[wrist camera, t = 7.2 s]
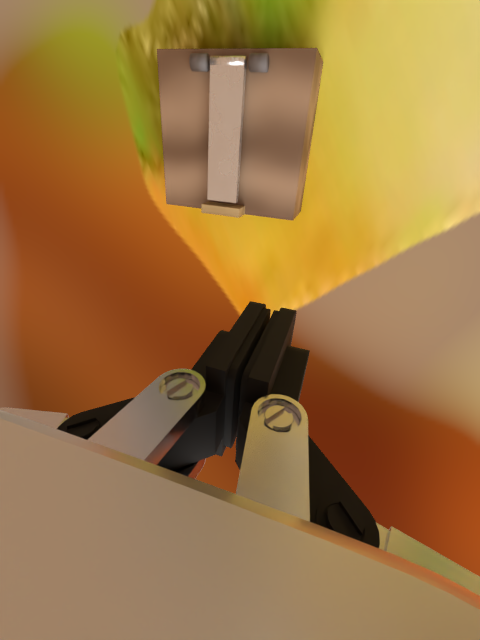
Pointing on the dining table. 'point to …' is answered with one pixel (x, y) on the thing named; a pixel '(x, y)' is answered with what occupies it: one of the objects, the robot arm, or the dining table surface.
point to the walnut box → (258, 128)
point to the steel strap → (225, 126)
